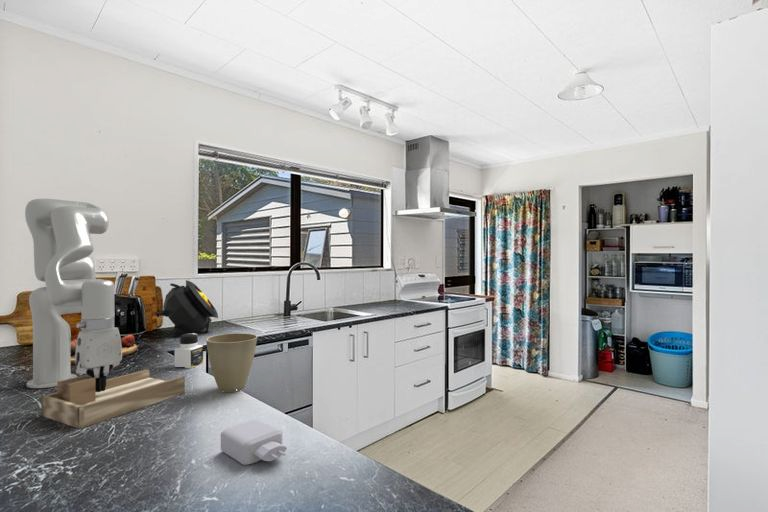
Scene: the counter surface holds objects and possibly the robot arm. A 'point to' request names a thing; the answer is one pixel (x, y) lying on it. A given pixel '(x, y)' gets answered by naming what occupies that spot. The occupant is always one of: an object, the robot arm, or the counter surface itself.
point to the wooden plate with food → (126, 343)
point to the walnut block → (77, 390)
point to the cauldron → (188, 308)
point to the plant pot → (231, 359)
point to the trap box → (113, 399)
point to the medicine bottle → (189, 351)
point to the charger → (252, 442)
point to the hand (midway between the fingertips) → (98, 390)
